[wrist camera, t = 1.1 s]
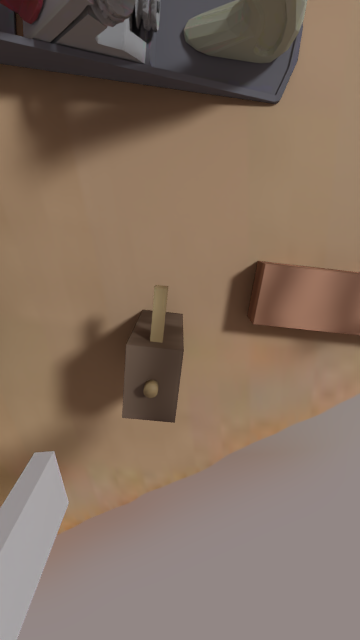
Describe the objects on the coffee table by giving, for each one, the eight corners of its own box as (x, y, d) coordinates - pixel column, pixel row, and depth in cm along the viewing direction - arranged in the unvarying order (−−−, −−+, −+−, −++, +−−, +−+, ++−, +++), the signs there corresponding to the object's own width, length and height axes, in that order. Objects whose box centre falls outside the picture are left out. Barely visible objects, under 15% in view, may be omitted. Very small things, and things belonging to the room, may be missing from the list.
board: (247, 316, 28) (253, 324, 25) (257, 260, 26) (265, 263, 24) (391, 331, 28) (410, 340, 26) (410, 278, 27) (433, 282, 24)
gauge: (139, 363, 29) (119, 424, 20) (145, 269, 26) (126, 290, 17) (176, 367, 30) (174, 429, 20) (187, 274, 27) (191, 297, 17)
